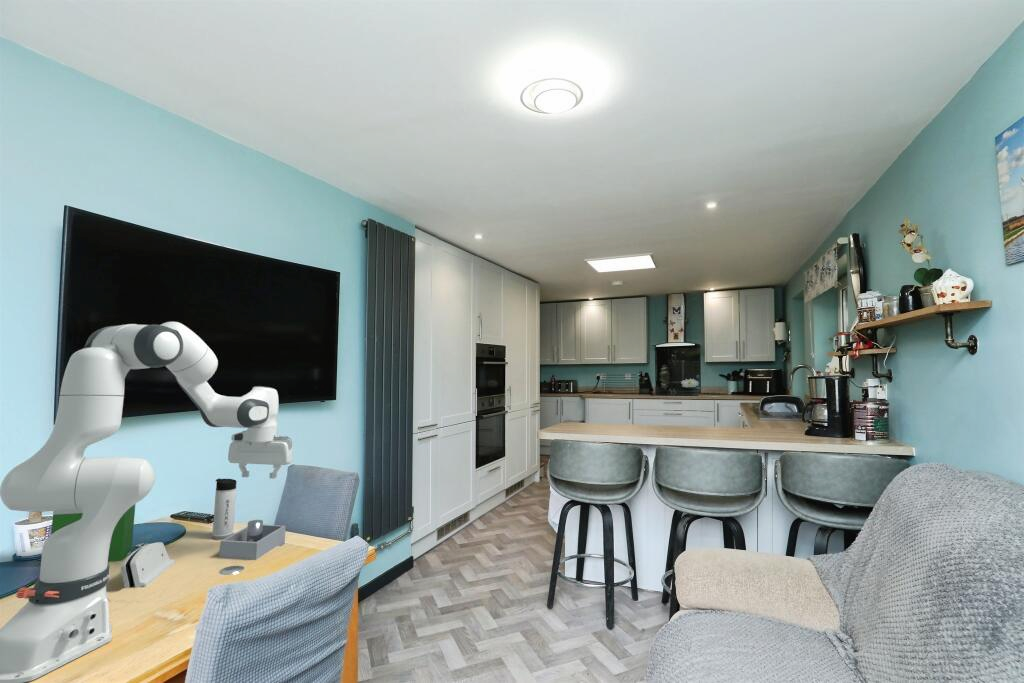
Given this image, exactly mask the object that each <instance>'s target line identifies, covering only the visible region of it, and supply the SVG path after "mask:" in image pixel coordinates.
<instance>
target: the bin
mask: <svg viewBox="0 0 1024 683" xmlns="http://www.w3.org/2000/svg"><path fill="white" fill-rule="evenodd" d="M247 527H248V526H247ZM247 527H244V528H243V529H242V528H241V530H238V531H236V532H235V533H233V535H231V536H229V537H227V538H225V539H221V540H220V542H219V555H218V556H219V558H220V559H231V560H232V559H233V560H234V559H235V560H236V559H237V560H252V561H257V560H258V559H259V558H261V557H263V556H265V554H268V553H269V552H270V551H272V550H273V549H275V548H277V547H282V546H283V545H285V542H286V525H279V524H278V525H275V524H263V529H262V539H261V540H259V541H257V542H247Z"/></svg>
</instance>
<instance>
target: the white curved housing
mask: <svg viewBox="0 0 1024 683" xmlns="http://www.w3.org/2000/svg"><path fill="white" fill-rule="evenodd" d="M175 561H176V560H174V559H172V558H171V559H170V556H169V553H168V551H167V549H166V547H165V544H164V543H163V542H161V541H159V542H158V541H157V542H152V543H149V544H146V545H143V546H141V547H138V548H137V549H135V550H134V551H131V553H130V554H129V555H128V556H126V557H125V558H124V559H123V562H122V563H121V565H120V571H121V575H122V580H123V586H124V588H125V589H130V588H137V589H138V588H141V587H143V588H145V587H146V588H147V587H148V586H149V585H150V584H151V583H152V582H154V581H155V580H156V579H157V578H159V577H160V576H161V575H162V574H164V573H165V572H166V571H167V570H168V569H170V568H171V567H172V566H174V565H175V563H176V562H175Z"/></svg>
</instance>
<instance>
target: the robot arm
mask: <svg viewBox="0 0 1024 683" xmlns="http://www.w3.org/2000/svg"><path fill="white" fill-rule="evenodd" d="M218 366H219V360H218V358H217V356H216V354H215V353H214V351H213V350H212V349H211V348H210V347H209V345H207V343H205V341H204V340H203V339H202V338H201V337H200V336H199V335H197V334H196V332H194V331H193V330H192V329H190V328H189V327H188V326H186V325H184V324H183V323H181V322H179V321H166V322H163V323H161V324H137V323H127V324H121V325H110V326H104V327H101V328H100V329H97V330H96V331H94V332H92V333H91V334H90V335H89V336H88V339H87V340H86V342H85V345H84V347H83V348H81V349H78V350H77V351H75V352H74V353H72V354H71V356H70V357H69V360H68V362H67V365H66V367H65V371H64V374H63V377H62V381H61V384H60V385H61V387H60V392H59V400H58V406H57V407H58V408H57V412H56V418H55V422H54V425H53V429H52V431H51V433H50V436H49V437H48V439H47V441H45V444H44V445H43V446H42V447H41V448H40V449H39V450H38V451H37V452H35V454H33V455H32V456H31V457H29V458H27V459H26V460H25V461H23V462H21V463H19V464H18V465H16V466H14V467H13V468H12V469H10V471H8V473H7V474H6V475H5V476H4V478H3V480H2V482H1V484H0V499H1V502H2V504H4V506H5V507H6V508H7V509H9V510H10V511H19V512H31V513H45V512H53V511H59V510H71V509H82V510H83V515H82V518H81V519H80V520H78V521H76V522H74V523H72V524H69V525H67V526H65V527H63V528H61V529H59V530H58V531H56V532H54V533H53V534H51V533H50V535H49V536H48V537H47V539H45V541H44V542H43V545H42V548H41V549H42V550H41V560H40V570H39V577H38V578H36V581H35V583H34V585H33V587H26V586H23V587H20V588H19V589H18V590H17V592H16V593H15V597H16V598H17V599H28V601H27V602H26V604H25V605H23V606H22V607H21V608H20V610H18V612H16V614H14V615H13V617H11V618H10V619H9V621H7V623H6V624H5V625H3V626H2V627H1V628H0V683H27V682H33V681H34V680H37V679H38V678H40V677H43V676H45V675H47V674H49V673H50V672H53V671H54V670H56V669H58V668H59V667H62V666H64V665H67V664H69V663H70V662H72V661H73V660H74V661H75V660H76V659H78V658H80V657H82V656H84V655H86V654H89V653H90V652H92V651H94V650H97V648H99V647H101V646H104V645H106V644H107V643H110V642H111V641H112V639H113V634H112V632H111V631H112V625H111V621H110V616H109V615H110V614H109V613H110V611H109V599H108V593H107V585H109V584H108V583H109V580H110V576H111V575H110V574H111V573H110V565H109V562H108V555H109V548H110V542H111V537H112V533H113V531H114V528H115V526H116V524H117V523H118V521H119V520H120V518H121V517H122V516H123V515H124V513H125V512H126V511H127V510H128V509H129V508H131V507H132V506H133V505H134V504H135V505H136V504H137V503H139V502H140V501H142V500H143V499H144V498H146V496H148V494H149V493H150V492H151V491H152V489H153V487H154V484H155V479H156V473H155V469H154V467H153V465H152V464H151V462H150V461H149V460H147V459H146V458H139V457H133V456H123V455H121V456H105V457H104V456H102V457H86V456H85V457H84V454H85V451H86V449H87V448H88V447H89V446H90V445H93V444H96V443H98V442H100V441H101V442H102V441H103V440H105V439H108V438H110V437H111V436H113V435H115V434H116V433H117V432H118V431H119V430H120V427H121V424H122V416H123V407H124V399H125V389H126V388H125V386H126V385H125V383H126V382H125V379H126V377H127V374H128V373H129V372H130V370H140V369H141V370H142V369H150V368H155V369H156V368H162V367H166V368H167V369H168V370H169V372H171V374H173V375H174V376H175V380H176V382H177V384H178V385H179V386H180V388H181V390H183V391H184V393H185V394H186V395H187V396H188V397H189V399H190V400H191V401H192V402H193V404H194V405H195V406H196V407H197V409H198V411H199V413H200V415H201V418H202V420H203V422H204V423H205V424H206V425H207V426H208V427H211V428H235V429H237V428H239V429H246V430H243V431H240V432H237V433H233V434H231V443H230V444H229V448H228V453H227V454H228V455H227V459H228V462H229V463H230V464H238V468H239V470H240V472H241V477H242V478H248V477H250V470H247V467H246V466H247V465H270V466H271V465H273V467H272V468H273V471H272V472H270V473H269V479H273V480H274V479H276V478H277V477H278V476H277V474H278V472H279V470H280V469H281V466H287V465H289V464H291V462H292V461H293V449H292V447H293V440H292V439H291V438H290V437H289V436H287V435H284V436H282V435H278V434H277V433H278V421H277V420H278V419H277V418H278V416H279V407H280V406H279V394H278V391H277V389H275V388H274V387H270V386H262V385H256V386H253V387H252V389H251V390H250V391H249V392H247V393H246V394H244V395H242V396H227V395H224V394H223V395H221V394H219V393H217V392H215V390H214V389H213V388H212V386H211V385H210V384H209V382H208V381H209V379H211V378H212V377H213V375H215V372H216V371H217V369H218Z"/></svg>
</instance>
